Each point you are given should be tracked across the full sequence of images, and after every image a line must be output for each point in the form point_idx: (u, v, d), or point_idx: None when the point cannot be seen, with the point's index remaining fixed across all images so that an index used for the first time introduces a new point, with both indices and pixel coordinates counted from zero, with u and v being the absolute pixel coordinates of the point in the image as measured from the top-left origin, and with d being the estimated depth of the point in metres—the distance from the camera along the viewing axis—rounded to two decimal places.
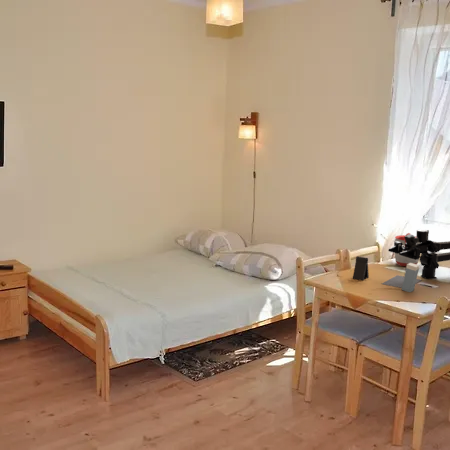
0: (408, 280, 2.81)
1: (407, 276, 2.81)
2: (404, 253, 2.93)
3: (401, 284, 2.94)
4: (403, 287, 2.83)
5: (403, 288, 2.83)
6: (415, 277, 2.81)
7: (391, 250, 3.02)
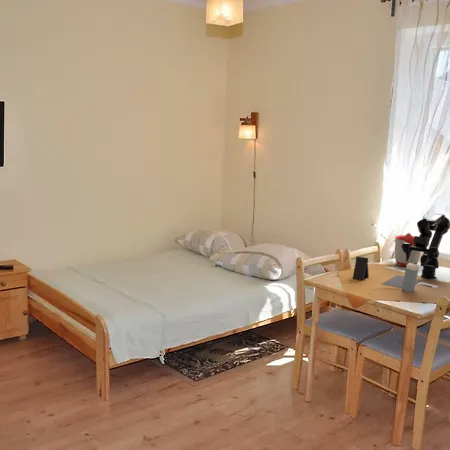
0: (408, 280, 2.81)
1: (407, 277, 2.81)
2: (427, 260, 2.85)
3: (401, 284, 2.94)
4: (403, 287, 2.83)
5: (403, 288, 2.83)
6: (415, 277, 2.81)
7: (408, 258, 2.91)
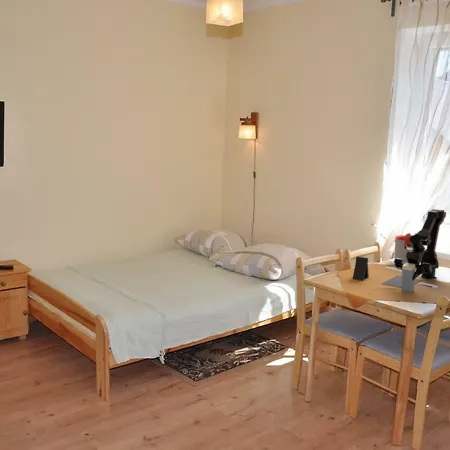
0: (406, 281, 2.81)
1: (404, 277, 2.81)
2: (415, 276, 2.81)
3: (401, 284, 2.94)
4: (402, 288, 2.83)
5: (403, 289, 2.83)
6: None
7: None
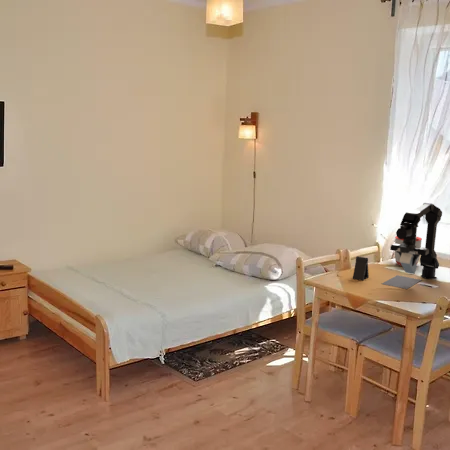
0: (407, 268, 2.89)
1: (405, 266, 2.89)
2: (414, 261, 2.87)
3: (401, 284, 2.94)
4: (406, 271, 2.93)
5: (406, 271, 2.94)
6: None
7: None
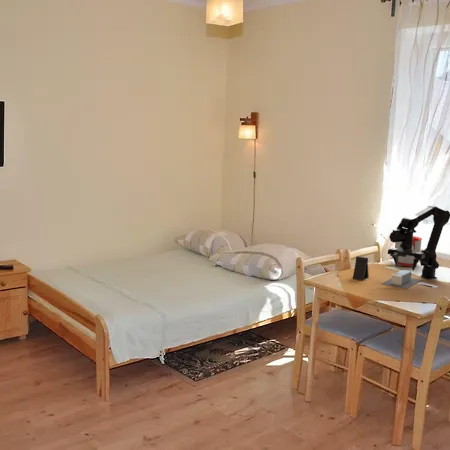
0: None
1: None
2: (415, 266, 2.96)
3: None
4: None
5: None
6: (405, 278, 2.96)
7: (397, 263, 3.02)
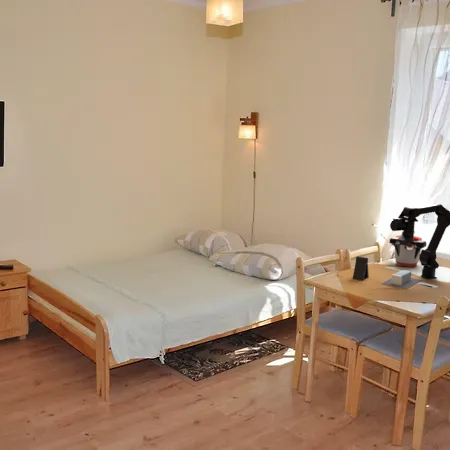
0: None
1: None
2: (416, 254, 2.98)
3: None
4: None
5: None
6: (405, 278, 2.96)
7: (399, 252, 3.04)
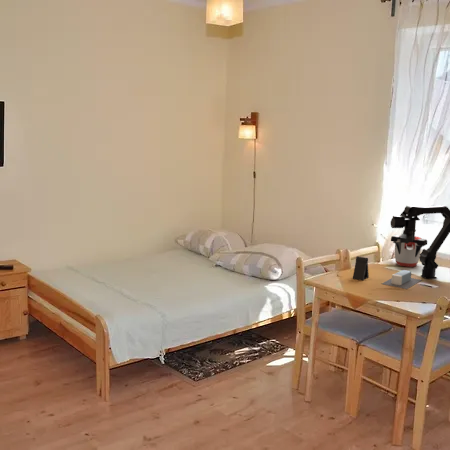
0: None
1: None
2: (417, 252, 3.01)
3: None
4: None
5: None
6: (405, 278, 2.96)
7: (400, 250, 3.08)
